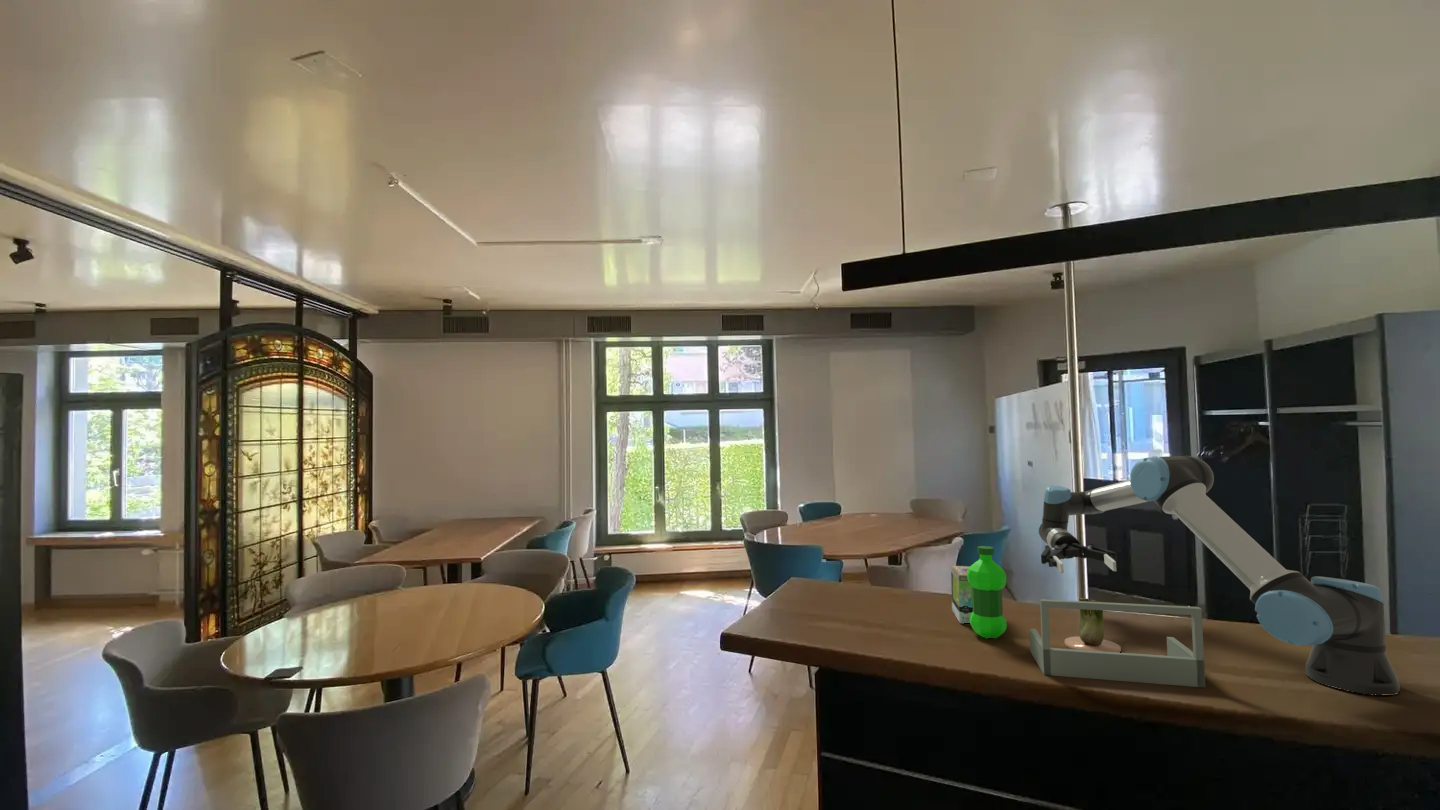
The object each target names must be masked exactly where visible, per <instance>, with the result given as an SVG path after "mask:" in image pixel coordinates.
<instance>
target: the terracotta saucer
mask: <svg viewBox="0 0 1440 810" xmlns="http://www.w3.org/2000/svg"><path fill="white" fill-rule="evenodd" d="M1064 646H1065V647H1066V648H1067V649H1074V650H1089V651H1104V652H1118V653H1120V652H1121V653H1122V647H1121V645H1119V644H1117V643H1116V642H1113V641H1110V640H1107V639H1104V638H1103V641H1102V643H1101V645H1089V644H1086V643H1084V642H1083V641H1082V640H1081V639H1080V637H1079V635H1078V636H1070V637H1067V638H1065V639H1064Z"/></svg>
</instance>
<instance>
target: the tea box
mask: <svg viewBox="0 0 1440 810" xmlns="http://www.w3.org/2000/svg"><path fill="white" fill-rule="evenodd" d="M970 566H971V565H970ZM970 566H967V565H951V566H950V567H951V569H950V570H951V571H950V577H951V579H950V580H951V584H950V585H951V611H952V612H953V614H954V615H955V617H956V619H957V620H958V622H959V624H964V623H970V616H971V613H972V612H973V598H972V586H971V585H970V583H969V582H968V578H967V571H968V568H969V567H970Z"/></svg>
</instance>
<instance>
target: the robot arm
mask: <svg viewBox="0 0 1440 810" xmlns="http://www.w3.org/2000/svg"><path fill="white" fill-rule="evenodd" d="M1129 477H1130V479H1128V480H1123V481H1120V482H1117V483H1112V484H1108V485H1105V486H1100V487H1097V488H1093V489H1092V488H1091V489H1089V490H1084V491H1071V489H1069V487H1065V486H1060V485H1049V486H1047V487H1046V488H1045V491H1044V496H1043V508H1042V509H1043V510H1042V519H1041V521H1040V523H1038V525H1037V533H1038V535H1039V537H1040V539H1041V540H1042V541H1043V542H1044V543H1046V544H1047V545H1044V550H1043V551H1042V552H1041V554H1040V563H1041V564H1042V565H1046V564H1048V567H1050V568H1053V567H1054V568H1056V570H1058V571H1059V572H1060V573H1061V574H1064V572H1065V571H1064V570H1065V569H1064V563H1063V562H1062V560H1064V559H1066V560H1069V559H1073V558H1082V559H1092V560H1096V561H1101V562H1103V563H1104V564H1105V565H1106V566H1107V567H1108V569H1110V570H1112V572H1117V562H1118V561H1117V560H1118V559H1117V557H1118V556H1117V552H1115V551H1113V550H1109V549H1107V548H1103V547H1100V546H1097V545H1095V544H1093V543H1089V544H1088V546H1086V545H1083V544H1081V543H1080V541H1079V540H1078V539H1077V537H1075V536H1074V535H1073V534H1072V533H1071V532H1070V531H1069V530H1068V525H1069V519H1070V516H1079V515H1098V514H1102V513H1105V512H1107V511H1110V510H1115V509H1119V508H1123V507H1129V506H1134V505H1139V504H1143V503H1147V502H1148V503H1149V502H1151V503H1152V502H1154V504H1156V505H1157V506H1158V507H1159V508H1160V509H1161V511H1163V512H1164V513H1165V514H1168V515H1175V516H1176V517H1177V518H1178V519H1179V520H1180V521H1181V522H1182V523H1183V524H1184V525H1185V526H1186V527H1187V528H1188V529H1189V530H1190V531H1191V532H1192V533H1193V534H1194V535H1195V536H1196V537H1197V538H1198V539H1199V540H1200V542H1202V543H1203V544H1204V545H1205V546H1206V548H1208V549H1209V550H1210V551H1211V552H1212V553H1213V554H1214V555H1215V557H1216V558H1218V559H1219V560H1220V561H1221V562H1222V563H1223V564H1224V565H1225V567H1227V568H1228V569H1229V570H1230V571H1231V572H1232V573H1233V574H1234V575H1235V576H1236V577H1237V578H1238V579H1239V580H1240V581H1241V583H1242V584H1244V585H1245V587H1247V588H1248V590H1249V591H1250V592H1249V593H1250V594H1249V600H1250V602H1252V603H1253V605H1255V607H1254V611H1255V613H1256V619H1257V621H1258V622H1259V624H1260V625H1261V626H1262V628H1263V629H1264V630H1265V631H1266V632H1267V633H1268V634H1269V635H1271V636H1272V637H1274V638H1275V639H1276V640H1279V641H1281V642H1283V643H1287V644H1289V645H1294V646H1312V647H1311V650H1310V652H1309V655H1308V657H1307V660H1306V663H1305V667H1304V668H1305V675H1306V674H1307V676H1309V677H1310V678H1312V679H1314V680H1316V681H1318V682H1321V683H1323V684H1327V685H1330V686H1334V687H1337V688H1341V689H1345V690H1349V691H1353V692H1358V693H1364V694H1363V695H1365V694H1373V695H1372V696H1374V695H1375V694H1376V695H1382V694H1395V693H1398V692H1399V691H1400V690H1401V689H1400V687H1401V686H1400V685H1401V684H1400V681H1399V678H1398V676H1397V675H1396V671H1395V670H1394V668H1393V665H1392V663H1391V661H1390V660H1389V657H1388V655H1387V650H1386V649H1387V647H1386V629H1385V626H1386V625H1385V609H1384V607H1385V601H1384V600H1383V598H1384V597H1383V592H1382V589H1381V588H1379V587H1378V586H1377V585H1373V584H1371V583H1366V582H1360V581H1355V580H1350V579H1343V578H1334V577H1328V576H1327V577H1326V576H1314V575H1313V576H1312V577H1311V579H1310V581H1309V579H1307V577H1306V576H1304V574H1302V573H1301V572H1300V571H1297V570H1290V569H1286V568H1285V567H1284V566H1283V565H1282V564H1281V563H1280V562H1279V561H1277V559H1275V557H1273V556H1272V555H1271V554H1270V553H1269V552H1268V551H1267V550H1266V549H1265V548H1263V547H1262V545H1260V544H1259V543H1258V542H1257V541H1256V539H1254V538H1252V536H1251V535H1249V534H1248V533H1247V532H1246V531H1245V530H1244V529H1243V528H1242V527H1241V526H1240V525H1239V524H1238V523H1237V522H1235V520H1233V518H1231V517H1230V516H1229V515H1228V514H1227V513H1226V512H1225V511H1224V510H1223V509H1222V508H1221V507H1219V506H1218V505H1217V504H1216V503H1215V501H1213V500H1212V498H1210V497H1209V496H1208V495H1207V493H1208V492H1209V491H1210V490H1211V489H1212V487H1213V485H1214V482H1215V474H1214V472H1213V470H1212V468H1211V467H1210V465H1209V464H1208V463H1207V462H1205V461H1204V460H1203V459H1201V458H1198V457H1195V456H1191V455H1174V456H1172V455H1171V456H1158V455H1157V456H1156V455H1154V456H1151V457H1145V458H1141V459H1140V460H1137V462H1136V463H1135V464H1134V465H1133V467H1132V468H1131V470H1130V473H1129ZM1307 676H1306V677H1307ZM1310 678H1309V679H1310ZM1318 682H1317V683H1318ZM1323 684H1322V685H1323ZM1353 692H1352V693H1353ZM1400 692H1401V691H1400ZM1358 693H1357V694H1358Z"/></svg>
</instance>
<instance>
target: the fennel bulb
mask: <svg viewBox="0 0 1440 810" xmlns="http://www.w3.org/2000/svg"><path fill="white" fill-rule="evenodd" d="M1078 601H1086V602H1097V600H1094V599H1089V598H1085V597H1084V598H1082V597H1081V598H1079V599H1078ZM1079 610H1080V611H1079V612H1080V613H1079V622H1078V636H1079V637H1080V639H1081V640H1082V641H1083V642H1084V643H1086V644H1089V645H1101V643H1102V641H1103V639H1104V636H1105V623H1104V613H1103V612H1104V610H1086V609H1079Z"/></svg>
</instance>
